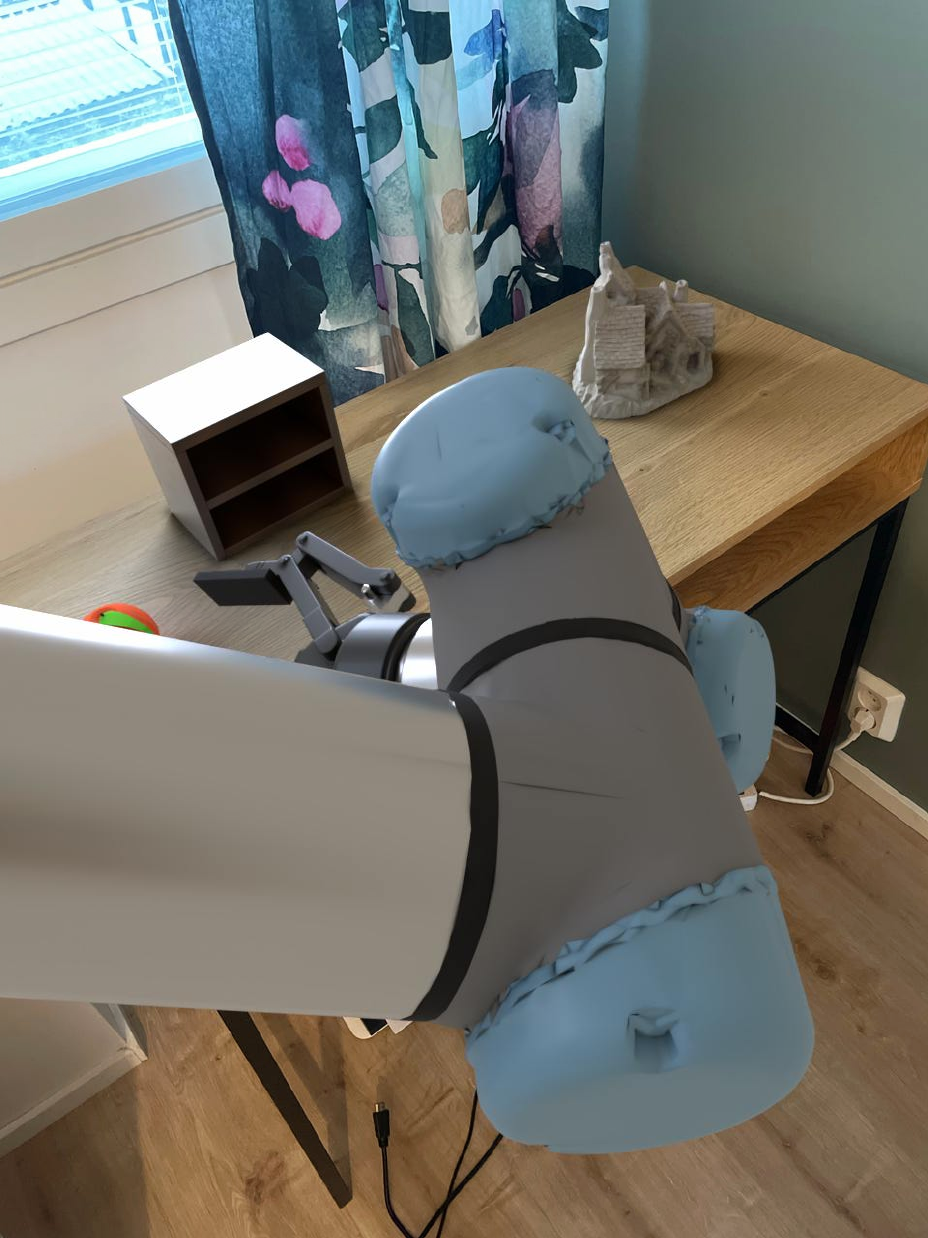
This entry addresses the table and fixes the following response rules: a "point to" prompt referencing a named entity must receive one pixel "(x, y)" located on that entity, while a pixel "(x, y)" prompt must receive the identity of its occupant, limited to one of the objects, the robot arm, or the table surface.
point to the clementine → (123, 618)
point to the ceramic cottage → (641, 344)
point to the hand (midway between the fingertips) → (156, 676)
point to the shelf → (242, 443)
